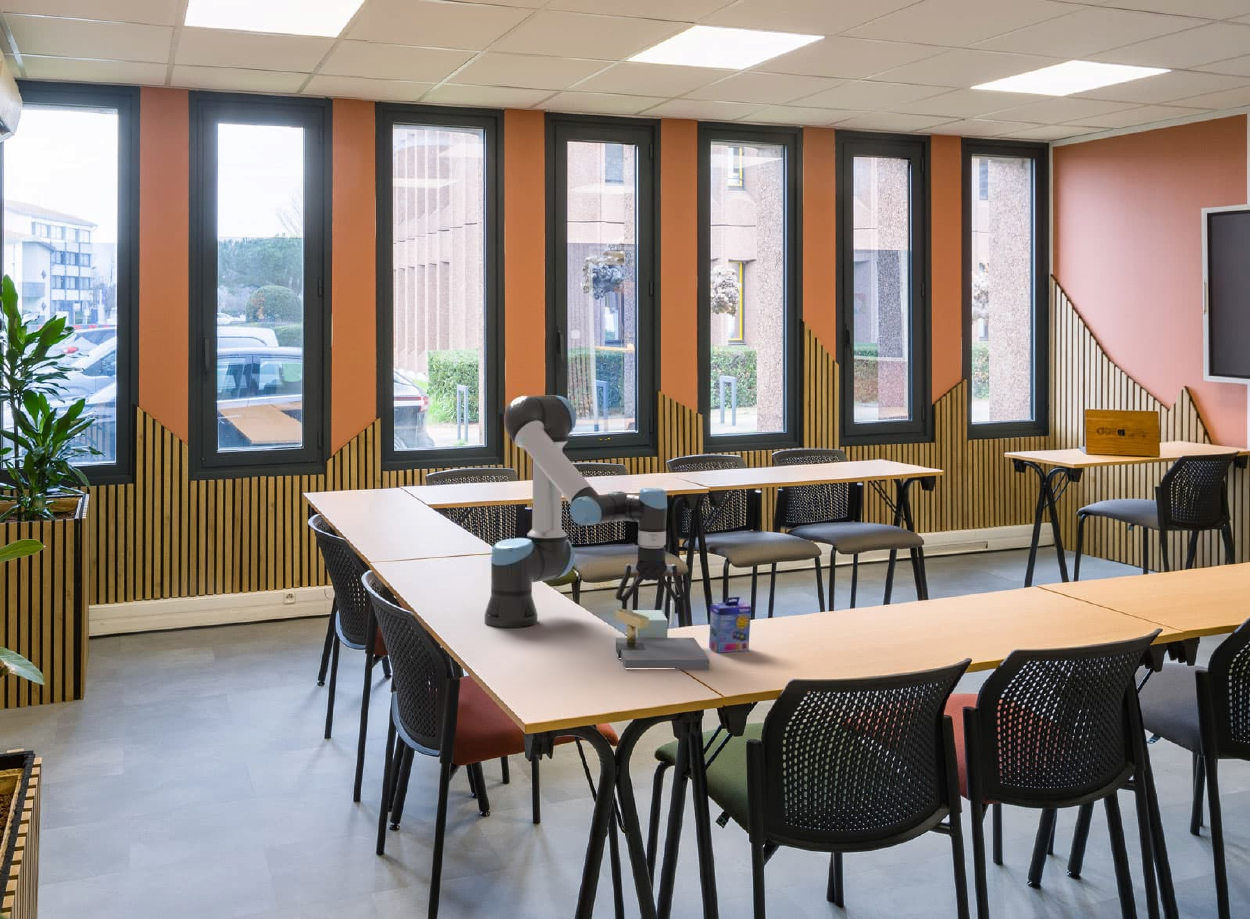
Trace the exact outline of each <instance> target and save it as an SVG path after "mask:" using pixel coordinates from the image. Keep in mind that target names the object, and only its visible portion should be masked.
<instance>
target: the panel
mask: <svg viewBox="0 0 1250 919" xmlns="http://www.w3.org/2000/svg"><path fill="white" fill-rule="evenodd" d="M626 643H627V637H615V653H616V652H617V654H618V657H617V658H621V660H622V661H621V660H620V661H621V663H622V662H623V664H622V666H623V665H624V666H623V668H624V667H625V668H675V669H678V671H679V670H680V671H681V670H685V671H686V670H710V659H709V657H708V656H707V654H706V652H705V651H704V650H703V649H702V647H701V645H700V644H699V643H698V641H697V640H696V639H695V637H667V638H636V645H635V646H628V645H626ZM617 654H616V655H617Z"/></svg>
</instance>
